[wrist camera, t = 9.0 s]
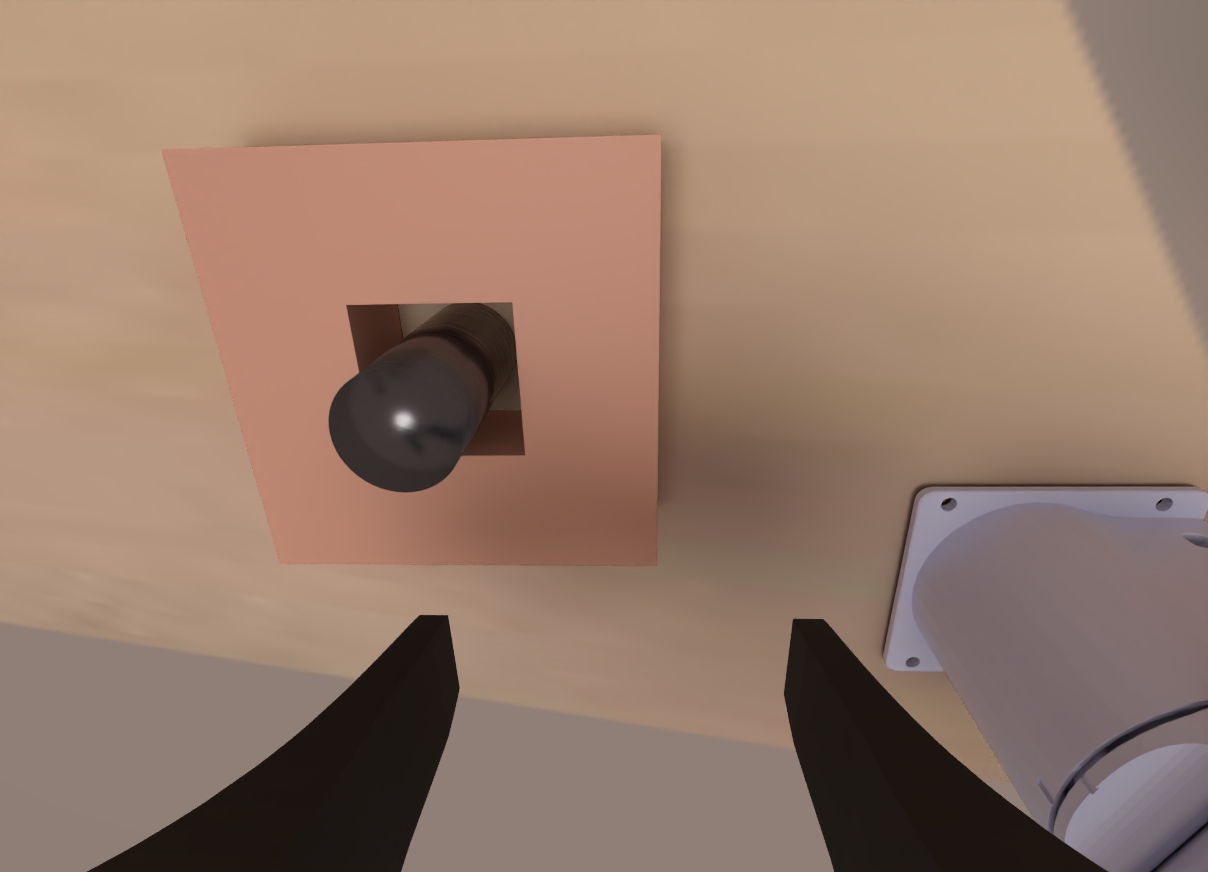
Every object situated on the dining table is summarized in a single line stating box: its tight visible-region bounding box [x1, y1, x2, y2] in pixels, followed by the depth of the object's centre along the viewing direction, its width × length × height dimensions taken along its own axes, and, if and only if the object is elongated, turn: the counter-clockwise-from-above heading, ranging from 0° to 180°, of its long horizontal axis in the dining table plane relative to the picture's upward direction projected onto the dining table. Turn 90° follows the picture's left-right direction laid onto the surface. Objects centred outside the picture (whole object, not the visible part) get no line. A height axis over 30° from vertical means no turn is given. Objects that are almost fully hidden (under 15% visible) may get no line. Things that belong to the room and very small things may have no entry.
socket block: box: [161, 134, 661, 566], centre depth 19 cm, size 12×12×4 cm
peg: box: [328, 303, 517, 493], centre depth 17 cm, size 3×3×7 cm
